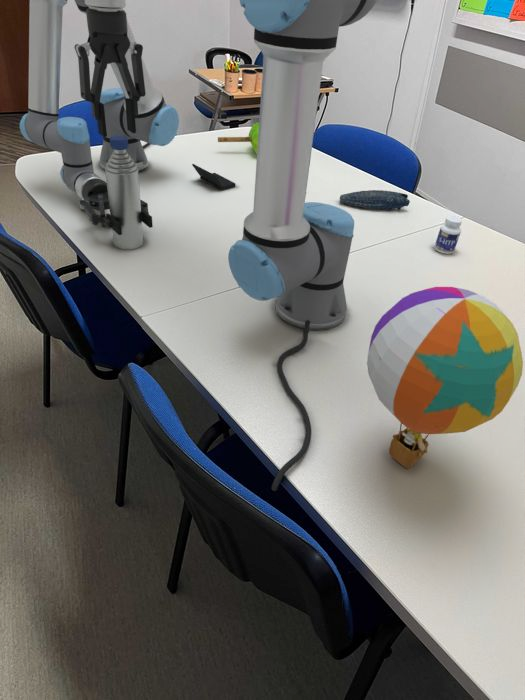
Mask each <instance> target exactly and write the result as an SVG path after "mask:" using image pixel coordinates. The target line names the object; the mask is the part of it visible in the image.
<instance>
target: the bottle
mask: <svg viewBox="0 0 525 700" xmlns="http://www.w3.org/2000/svg"><path fill="white" fill-rule="evenodd" d="M104 173H105V180H106V181H105V182H106V183H107V190H108V199H109V207H110V209H109V214H110V215H111V216H112V217H114V218H115V219H116V220H117V221H118V222H119V223H121V229H122V235H118V234H117V233H116V232H115V231H114V230H113V229H112V228H111V233H112V240H113V245H114V246H115V247H116V248H118V249H121V250H135V249H138V248H141V247H142V246H143V245H144V231H143V222H142V216H141V203H140V199H141V192H140V179H139V172H138V168H137V166H136V163H135V162H134V161H133V159H131V156H130V155H128V152H126V149H125V150H114V152H112V155H111V156H110V159H109V160H108V162H107V163H106V167H105V170H104Z"/></svg>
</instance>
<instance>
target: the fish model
mask: <svg viewBox="0 0 525 700" xmlns="http://www.w3.org/2000/svg"><path fill="white" fill-rule="evenodd" d="M410 202H411V201H410V200H409V195H408V194H406V193H403V192H402V193H401V192H399V191H392V190H382V189H380V190H379V189H377V190H376V189H368V190H360V191H352V192H348V193H344V194H341V195H340V196H339V203H343V204H346V205H349V206H351V207H357V208H362V209H371V210H372V209H374V210H384V211H385V210H386V211H391V210H394V209H397V210H402V208H404V207H408V206H409V205H410Z"/></svg>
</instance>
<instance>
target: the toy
mask: <svg viewBox="0 0 525 700" xmlns="http://www.w3.org/2000/svg"><path fill="white" fill-rule="evenodd" d="M514 325H515V324H514V323H513V322H512V321H511V319H510V318H509V317H508V316H507V314H506V313H504V311H503V310H502V309H501V308H500V307H499V305H498V304H496V303H495V302H493V301H492V300H490V299H489V298H487V297H486V296H483V295H481V294H479V293H477V292H474V291H472V290H469V289H465V288H461V287H460V288H459V287H455V286H433V287H429V288H425V289H421V290H418V291H414V292H412V293H409V294H407V295H406V296H404V297H401V299H400V300H398V301H397V302H396V303H395V304H394V305H393V306H392V307H391V308H389V309H388V310H387V311H386V312H385V313H384V314H382V316H381V317H380V318H379V320H378V321H377V323H376V324H375V326H374V329H373V331H372V334H371V335H370V343H369V346H368V353H367V361H366V367H367V373H368V377H369V379H370V381H371V384H372V386H373V389H374V391H375V393H376V396H377V398H378V401H380V403H381V404H382V405H383V406H384V407H385V408H386V410H388V412H389V413H391V415H392V416H393V417H394V418H395V419H397V421H398V422H399V423H400V427H399V431H398V434H397V433H396V434H395V433H394V434H393V435H392V439H391V441H390V444H389V450H388V454H389V456H390V457H391V458H393V459H394V460H395V461H396V462H398V464H400V465H401V466H403V467H404V468H406V469H410V468H411V467H412V466H413V465H415V464H416V463H417V462H419V461H420V460H421V459H422V458H423V456H425V454H427V453H428V448H429V442H428V441H427V438H428V437H429V435H444V434H445V435H447V434H457V433H459V434H460V433H465V432H467V431H468V432H469V431H470V430H472V429H475V428H477V427H479V426H480V425H483V424H485V423H488V422H489V421H492V420H493V419H495V418H496V417H497V416H498V415H499V414H501V413H502V412H503V410H504V409H505V407H506V406H507V405H508V403H509V402H510V401H511V398H512V397H513V395H514V393H515V391H516V390H517V388H518V386H519V383H520V382H521V378H522V375H523V367H524V360H523V354H522V348H521V344H520V343H521V342H520V339H519V333H518V331H517V329H516V328H515V326H514ZM402 425H403V426H404V427H405V429H403V430H402V427H403V426H402ZM422 434H423V435H426V436H425V438H423V436H422Z"/></svg>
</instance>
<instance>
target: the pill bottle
mask: <svg viewBox="0 0 525 700" xmlns="http://www.w3.org/2000/svg"><path fill="white" fill-rule="evenodd" d="M462 222H463V219H461V218H460V217H458V216H455V215H448V216H446V218H445V220H444V223H443V224H442V225H440V228H439V231H438V234H437V237H436V240H435V243H434V250H435V251H437V252H439V253H441V254H447V255H449V254H453V253H454V252H455V250H456V247H457V244H458V242H459V239H460V236H461V233H462V229H461V225H462Z"/></svg>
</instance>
